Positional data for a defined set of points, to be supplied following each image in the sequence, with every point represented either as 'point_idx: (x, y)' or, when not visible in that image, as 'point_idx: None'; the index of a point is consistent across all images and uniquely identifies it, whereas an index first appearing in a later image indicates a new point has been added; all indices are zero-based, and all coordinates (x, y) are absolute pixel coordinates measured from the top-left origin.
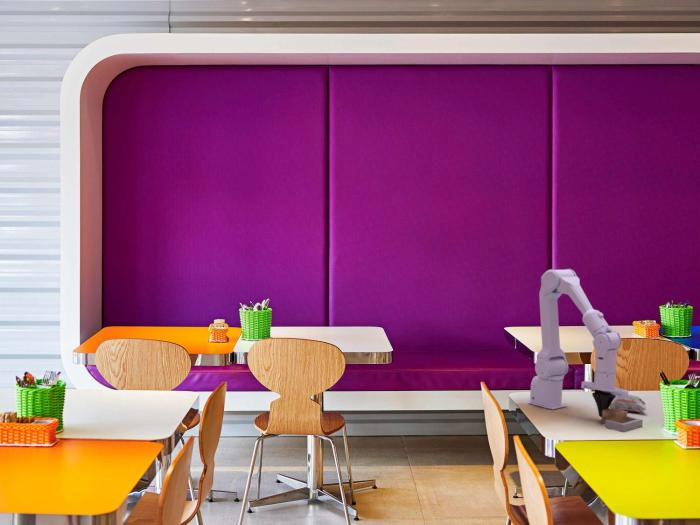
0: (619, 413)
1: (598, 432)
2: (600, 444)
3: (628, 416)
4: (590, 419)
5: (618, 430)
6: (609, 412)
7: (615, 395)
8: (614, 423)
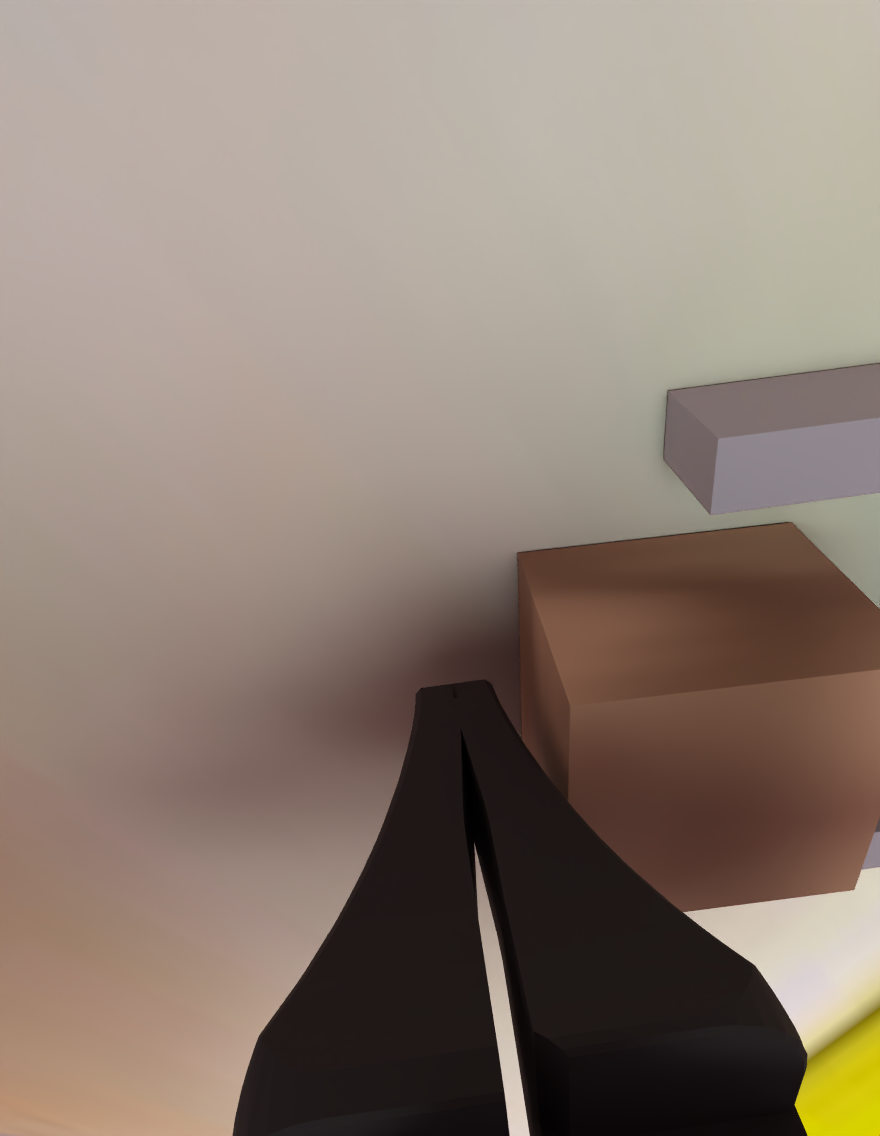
0: (863, 851)
1: None
2: (867, 1091)
3: (823, 447)
4: (304, 746)
5: None
6: (696, 901)
7: (793, 1032)
8: None
